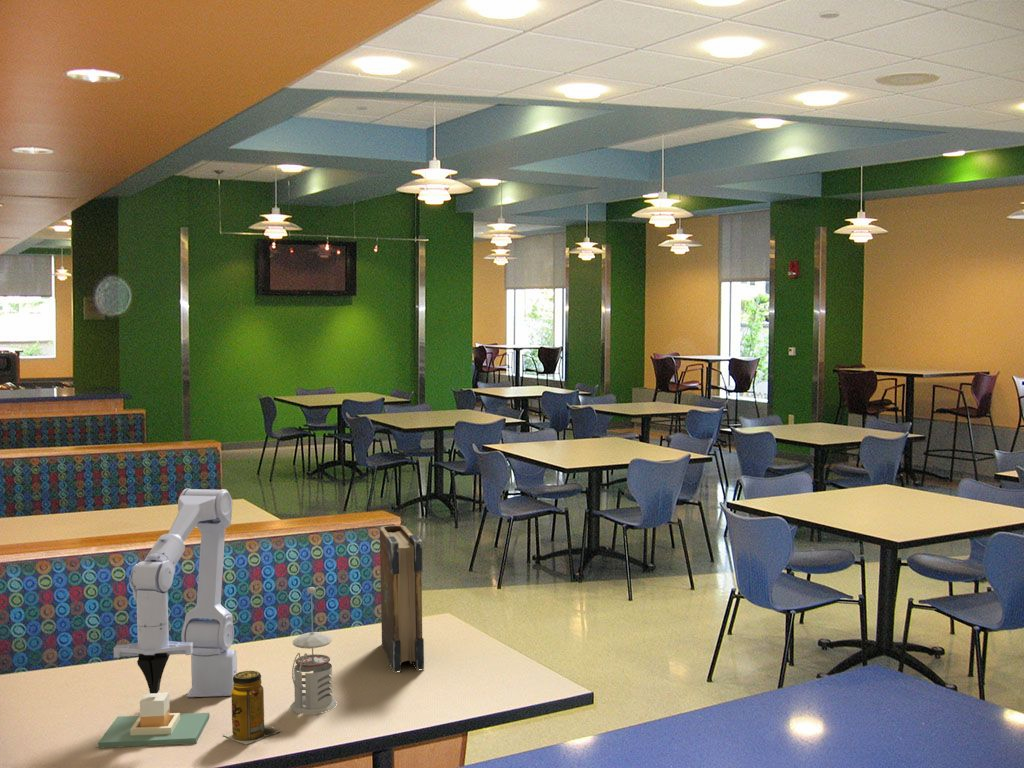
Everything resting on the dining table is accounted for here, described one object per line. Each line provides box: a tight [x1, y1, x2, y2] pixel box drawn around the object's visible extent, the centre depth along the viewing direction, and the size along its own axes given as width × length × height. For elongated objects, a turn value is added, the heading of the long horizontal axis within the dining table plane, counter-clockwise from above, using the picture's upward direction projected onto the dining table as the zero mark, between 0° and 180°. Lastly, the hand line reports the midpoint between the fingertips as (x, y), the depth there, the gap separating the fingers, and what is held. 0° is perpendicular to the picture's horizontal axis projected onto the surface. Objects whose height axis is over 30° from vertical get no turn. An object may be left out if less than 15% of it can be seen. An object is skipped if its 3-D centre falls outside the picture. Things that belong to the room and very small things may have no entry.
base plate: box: [97, 712, 211, 749], centre depth 201 cm, size 18×13×2 cm
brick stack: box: [139, 691, 171, 727], centre depth 201 cm, size 4×4×6 cm
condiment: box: [223, 670, 283, 745], centre depth 199 cm, size 7×8×12 cm
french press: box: [289, 586, 338, 715], centre depth 213 cm, size 10×12×25 cm
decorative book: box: [379, 524, 425, 672], centre depth 245 cm, size 23×7×30 cm, turn 15°
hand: (154, 691), depth 200 cm, fingers closed
